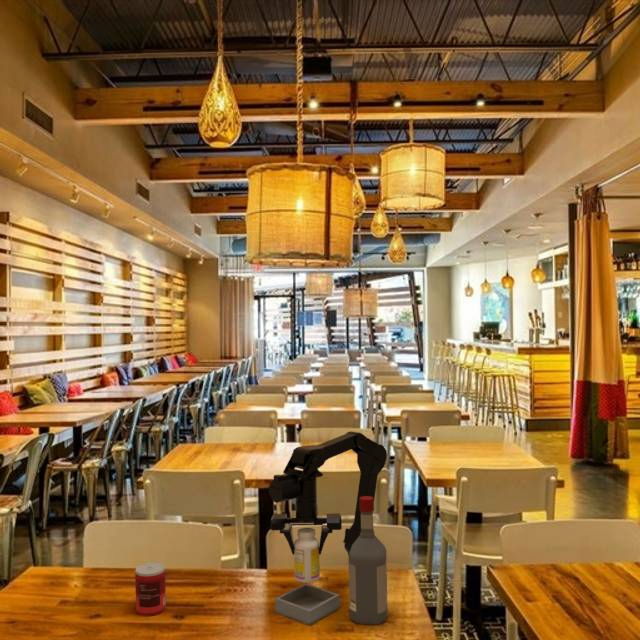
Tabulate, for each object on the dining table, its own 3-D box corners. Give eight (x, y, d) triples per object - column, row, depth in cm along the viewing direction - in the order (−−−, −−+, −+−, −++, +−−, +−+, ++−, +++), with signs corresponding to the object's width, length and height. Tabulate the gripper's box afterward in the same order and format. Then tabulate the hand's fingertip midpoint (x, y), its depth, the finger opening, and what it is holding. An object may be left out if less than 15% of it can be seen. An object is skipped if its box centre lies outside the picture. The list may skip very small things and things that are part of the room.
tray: (305, 596, 172) (305, 583, 172) (340, 608, 165) (339, 594, 165) (275, 612, 163) (274, 598, 163) (310, 625, 155) (309, 611, 155)
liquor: (388, 609, 163) (385, 493, 163) (385, 626, 154) (383, 503, 154) (353, 607, 165) (350, 492, 165) (348, 623, 156) (346, 502, 156)
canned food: (156, 600, 171) (155, 560, 171) (171, 609, 166) (171, 567, 166) (130, 609, 166) (129, 568, 166) (145, 619, 160) (144, 576, 160)
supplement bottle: (319, 573, 171) (318, 526, 171) (319, 583, 164) (319, 534, 164) (294, 573, 171) (294, 526, 171) (294, 584, 164) (293, 534, 164)
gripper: (340, 487, 176) (341, 543, 175) (273, 487, 176) (274, 543, 176) (341, 498, 164) (342, 558, 164) (269, 498, 165) (270, 558, 165)
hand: (306, 554), depth 168 cm, fingers closed on supplement bottle, 7 cm apart
